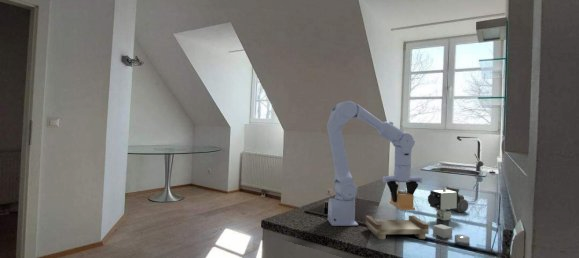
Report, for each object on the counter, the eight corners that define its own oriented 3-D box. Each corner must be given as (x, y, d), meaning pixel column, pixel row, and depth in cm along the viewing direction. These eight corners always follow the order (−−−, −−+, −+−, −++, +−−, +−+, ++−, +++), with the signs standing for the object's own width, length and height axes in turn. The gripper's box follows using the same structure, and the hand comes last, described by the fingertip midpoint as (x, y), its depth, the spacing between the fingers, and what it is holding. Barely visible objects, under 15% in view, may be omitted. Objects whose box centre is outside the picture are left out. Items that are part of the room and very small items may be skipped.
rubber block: (443, 238, 99) (444, 229, 99) (433, 234, 103) (433, 225, 103) (452, 236, 101) (452, 227, 101) (441, 233, 105) (441, 224, 105)
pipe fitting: (433, 205, 141) (437, 183, 140) (446, 206, 143) (450, 184, 143) (455, 216, 129) (460, 192, 129) (469, 216, 132) (474, 192, 131)
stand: (376, 239, 97) (376, 224, 97) (365, 228, 107) (365, 215, 107) (428, 238, 98) (428, 224, 98) (413, 228, 108) (413, 215, 108)
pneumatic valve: (460, 220, 120) (461, 189, 120) (436, 222, 116) (436, 190, 116) (449, 216, 125) (449, 186, 125) (425, 218, 122) (425, 187, 122)
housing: (401, 209, 111) (401, 193, 111) (389, 203, 121) (389, 188, 121) (414, 209, 111) (415, 193, 111) (401, 203, 122) (402, 188, 122)
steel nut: (461, 246, 93) (461, 239, 93) (451, 241, 97) (451, 235, 97) (472, 245, 94) (472, 238, 94) (462, 240, 98) (462, 233, 98)
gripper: (416, 164, 121) (415, 199, 121) (379, 163, 120) (378, 199, 120) (425, 166, 114) (424, 203, 114) (387, 165, 113) (386, 203, 113)
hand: (401, 201), depth 116 cm, fingers closed on housing, 5 cm apart
